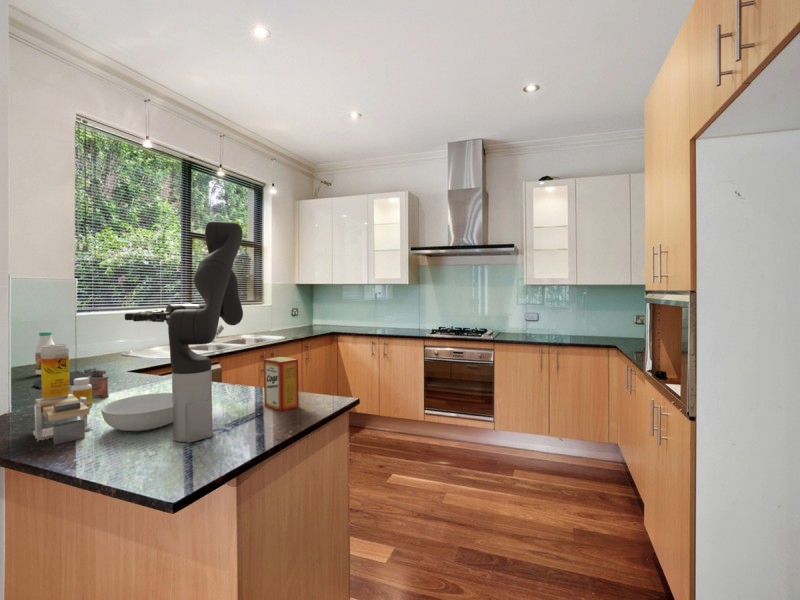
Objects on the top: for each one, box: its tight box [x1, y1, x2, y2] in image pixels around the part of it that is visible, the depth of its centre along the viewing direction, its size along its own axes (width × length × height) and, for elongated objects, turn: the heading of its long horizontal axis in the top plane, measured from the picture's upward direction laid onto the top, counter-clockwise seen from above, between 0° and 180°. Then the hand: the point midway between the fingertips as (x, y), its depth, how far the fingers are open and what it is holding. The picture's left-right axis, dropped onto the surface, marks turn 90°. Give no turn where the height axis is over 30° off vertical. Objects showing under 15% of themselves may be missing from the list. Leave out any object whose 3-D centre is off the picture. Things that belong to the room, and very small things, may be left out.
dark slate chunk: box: [33, 368, 97, 388], centre depth 172 cm, size 15×22×5 cm
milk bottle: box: [34, 331, 56, 375], centre depth 190 cm, size 8×8×20 cm
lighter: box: [87, 368, 110, 400], centre depth 147 cm, size 8×3×10 cm, turn 76°
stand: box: [32, 397, 91, 445], centre depth 108 cm, size 14×11×8 cm
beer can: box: [40, 343, 71, 400], centre depth 116 cm, size 6×6×15 cm
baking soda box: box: [263, 356, 300, 413], centre depth 133 cm, size 10×6×16 cm
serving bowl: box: [100, 392, 173, 432], centre depth 115 cm, size 21×21×7 cm
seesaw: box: [34, 393, 90, 423], centre depth 110 cm, size 22×8×3 cm, turn 49°
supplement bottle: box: [70, 378, 93, 409], centre depth 134 cm, size 5×5×10 cm
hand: (128, 317), depth 128 cm, fingers open, 8 cm apart
